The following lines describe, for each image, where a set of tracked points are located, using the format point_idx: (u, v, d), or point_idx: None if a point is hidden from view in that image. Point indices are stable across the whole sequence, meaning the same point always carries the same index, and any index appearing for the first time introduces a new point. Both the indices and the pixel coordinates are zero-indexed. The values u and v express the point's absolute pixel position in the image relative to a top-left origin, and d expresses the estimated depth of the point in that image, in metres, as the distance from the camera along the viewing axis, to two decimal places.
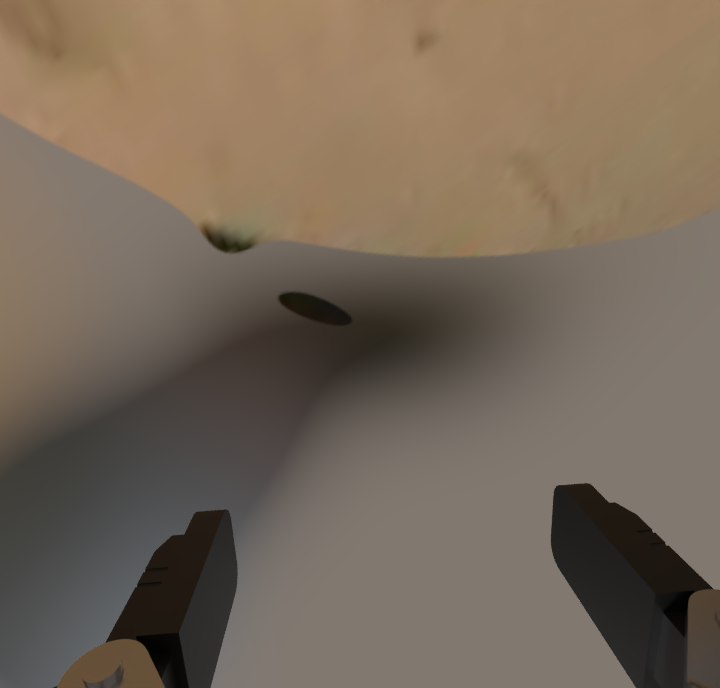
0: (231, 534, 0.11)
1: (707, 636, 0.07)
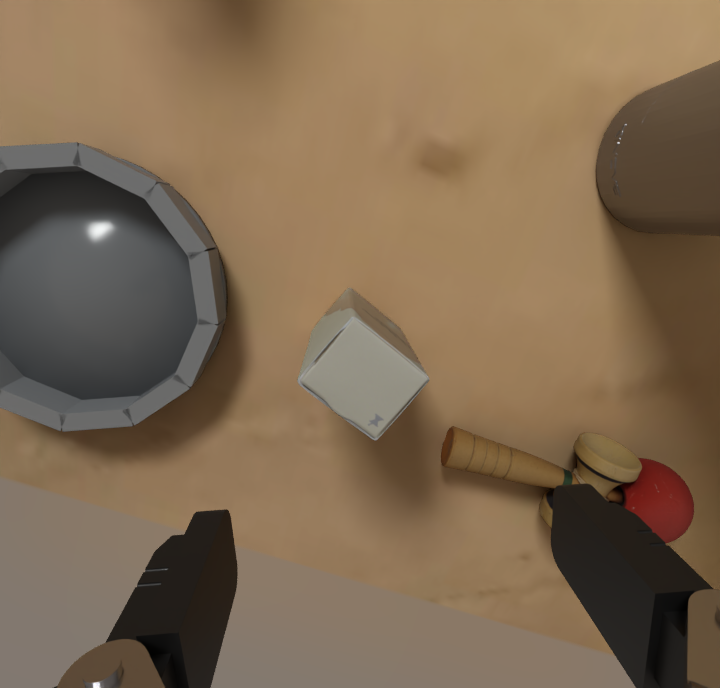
0: (231, 534, 0.11)
1: (707, 636, 0.07)
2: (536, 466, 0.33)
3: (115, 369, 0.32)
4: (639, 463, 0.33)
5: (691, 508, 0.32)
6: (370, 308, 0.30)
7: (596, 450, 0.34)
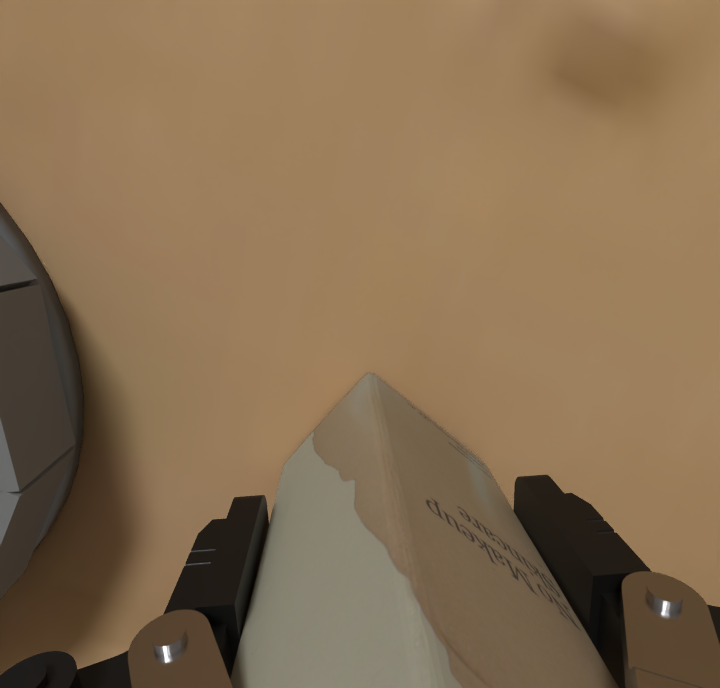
0: (267, 519, 0.12)
1: (641, 618, 0.07)
2: None
3: None
4: None
5: None
6: (429, 446, 0.11)
7: None
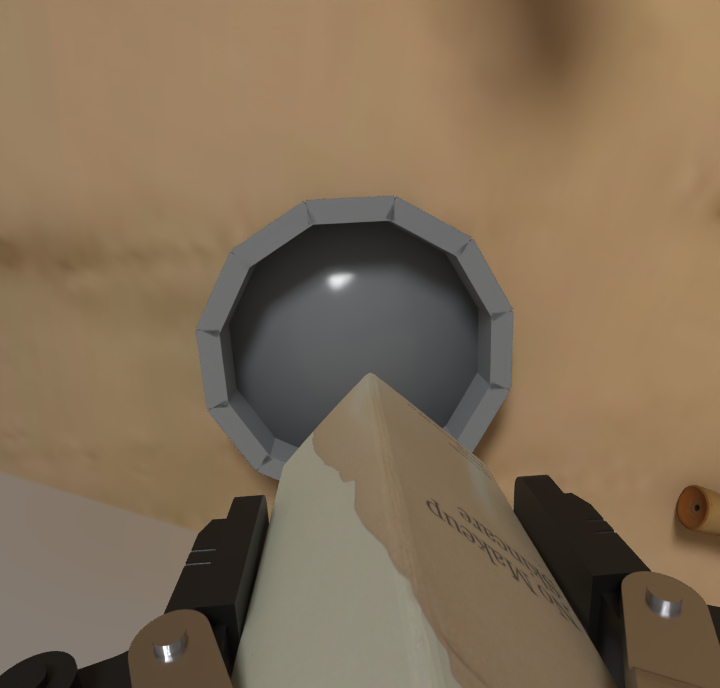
0: (267, 519, 0.12)
1: (641, 618, 0.07)
2: None
3: None
4: None
5: None
6: (429, 447, 0.11)
7: None
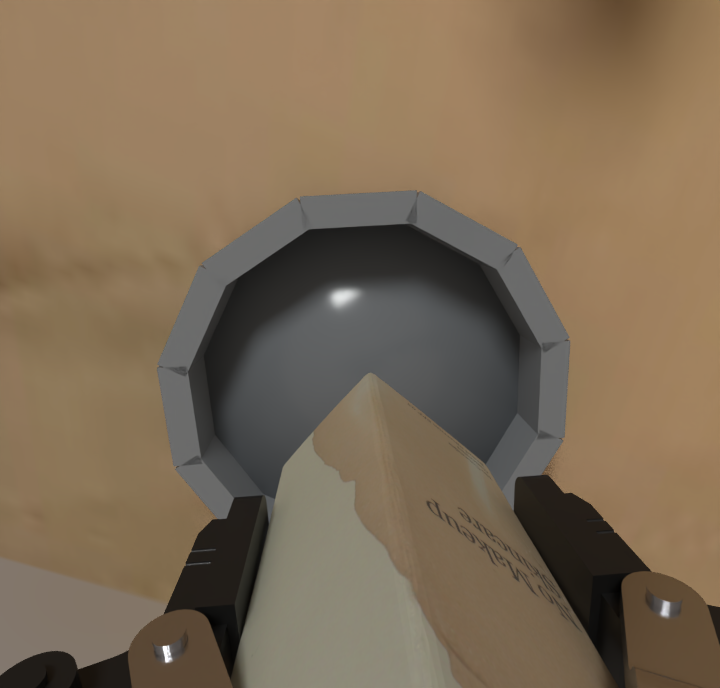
0: (267, 519, 0.12)
1: (641, 618, 0.07)
2: None
3: None
4: None
5: None
6: (429, 447, 0.11)
7: None
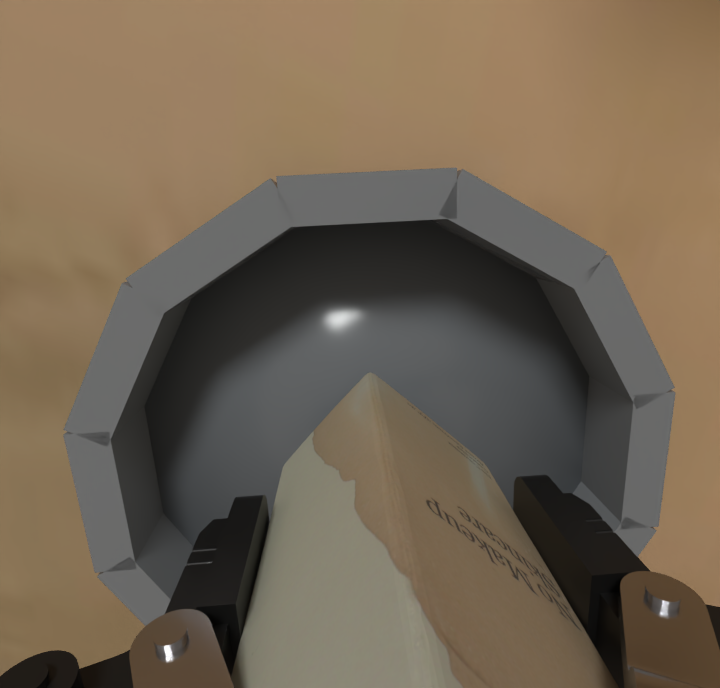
0: (267, 519, 0.12)
1: (640, 618, 0.07)
2: None
3: None
4: None
5: None
6: (429, 446, 0.11)
7: None
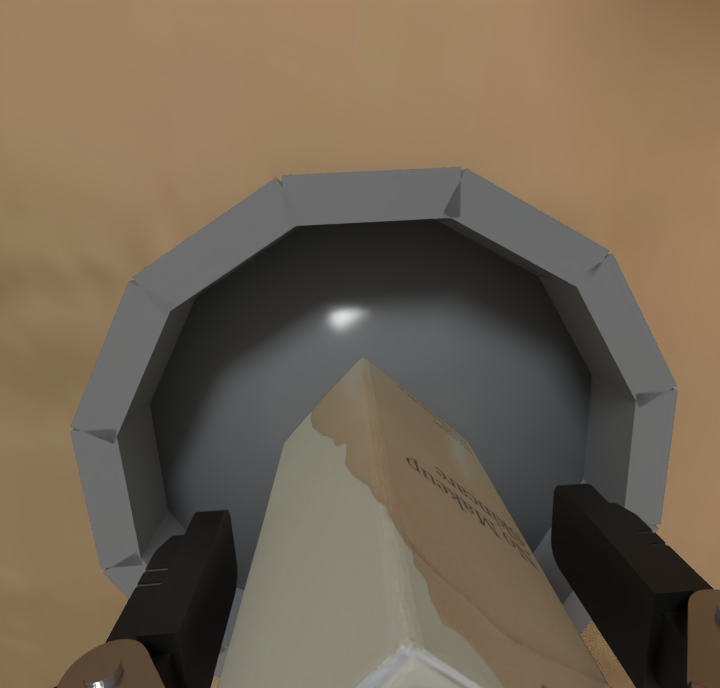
0: (231, 534, 0.11)
1: (707, 636, 0.07)
2: None
3: None
4: None
5: None
6: (414, 420, 0.13)
7: None
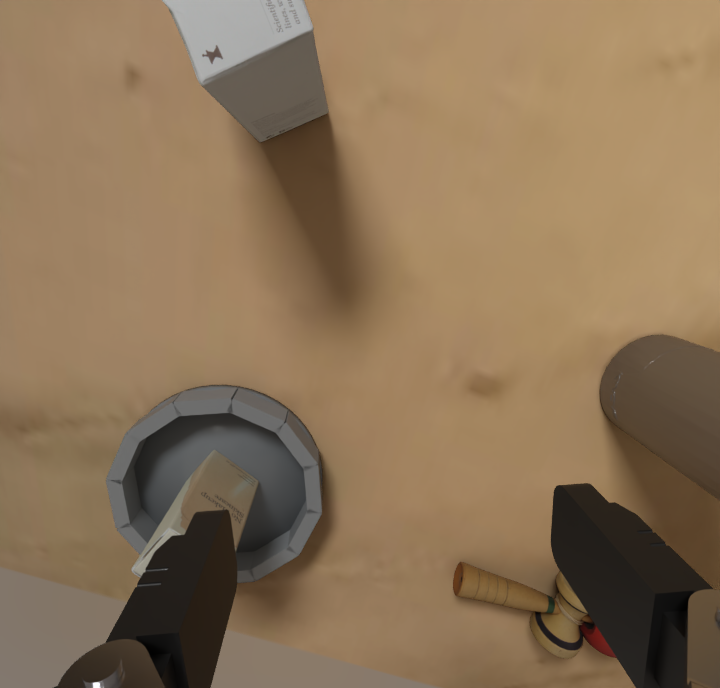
0: (231, 534, 0.11)
1: (707, 636, 0.07)
2: (527, 597, 0.43)
3: None
4: None
5: None
6: (221, 477, 0.38)
7: None
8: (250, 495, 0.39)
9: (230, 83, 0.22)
